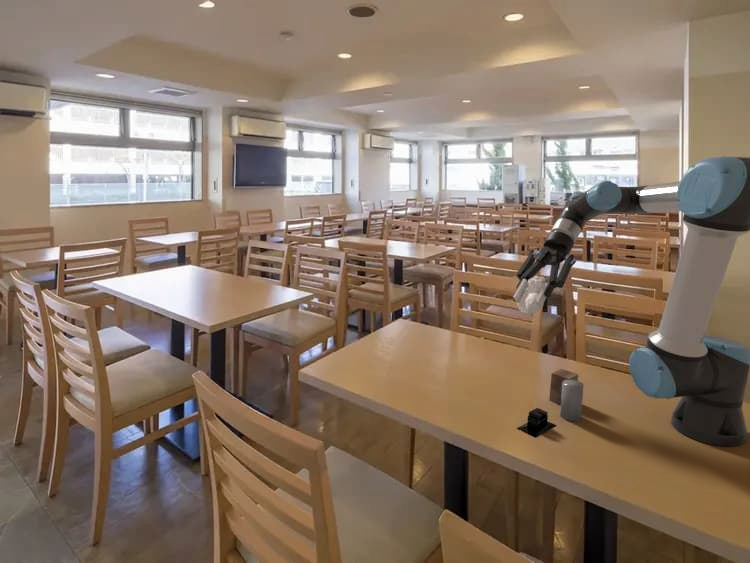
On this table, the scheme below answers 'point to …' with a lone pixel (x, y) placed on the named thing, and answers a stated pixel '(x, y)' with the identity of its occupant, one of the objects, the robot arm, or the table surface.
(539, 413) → the notched block on base
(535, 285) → the bust
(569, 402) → the grey rounded cylinder
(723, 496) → the table surface
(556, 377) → the walnut block
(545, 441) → the table surface
